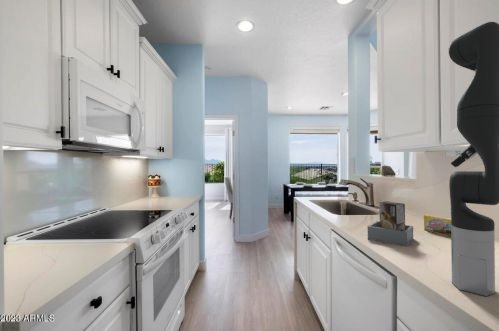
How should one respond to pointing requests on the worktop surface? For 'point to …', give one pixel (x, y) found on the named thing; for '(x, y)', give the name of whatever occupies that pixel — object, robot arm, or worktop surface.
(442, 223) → the candy box
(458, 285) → the robot arm
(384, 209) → the coffee box
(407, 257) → the worktop surface
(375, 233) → the bin
